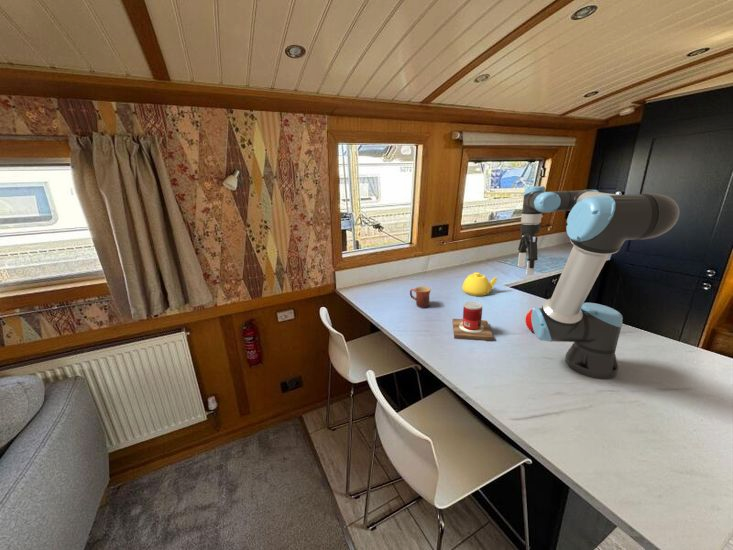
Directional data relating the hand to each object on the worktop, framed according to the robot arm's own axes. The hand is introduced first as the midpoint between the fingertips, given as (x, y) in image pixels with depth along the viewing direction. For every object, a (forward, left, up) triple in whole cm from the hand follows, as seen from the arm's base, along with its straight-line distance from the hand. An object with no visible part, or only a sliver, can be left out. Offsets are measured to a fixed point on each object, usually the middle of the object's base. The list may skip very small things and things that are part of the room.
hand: (525, 270), depth 130 cm
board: (-11, +23, -27) cm, 37 cm away
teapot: (+42, +13, -27) cm, 52 cm away
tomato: (-7, -6, -27) cm, 28 cm away
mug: (+16, +48, -27) cm, 57 cm away
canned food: (-11, +23, -25) cm, 35 cm away
